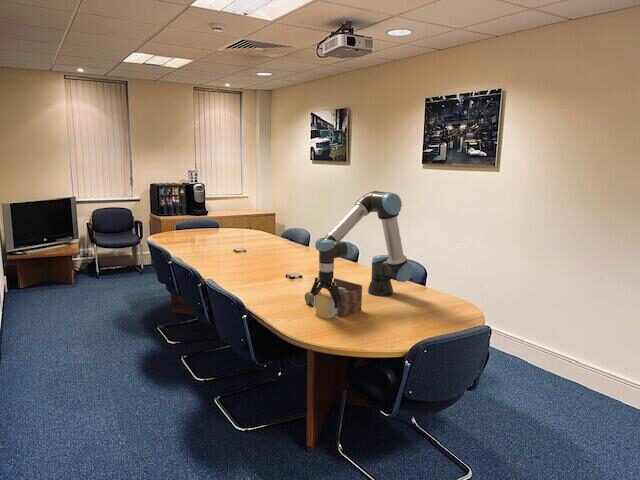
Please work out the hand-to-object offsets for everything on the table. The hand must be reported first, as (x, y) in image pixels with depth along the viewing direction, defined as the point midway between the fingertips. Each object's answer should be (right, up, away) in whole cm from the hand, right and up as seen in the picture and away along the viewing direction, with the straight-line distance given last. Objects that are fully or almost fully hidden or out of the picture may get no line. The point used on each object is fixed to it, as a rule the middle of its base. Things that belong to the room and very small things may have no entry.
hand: (325, 310), depth 244 cm
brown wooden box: (+7, -1, +12) cm, 14 cm away
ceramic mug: (-6, 0, +20) cm, 21 cm away
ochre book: (0, -3, +1) cm, 3 cm away
